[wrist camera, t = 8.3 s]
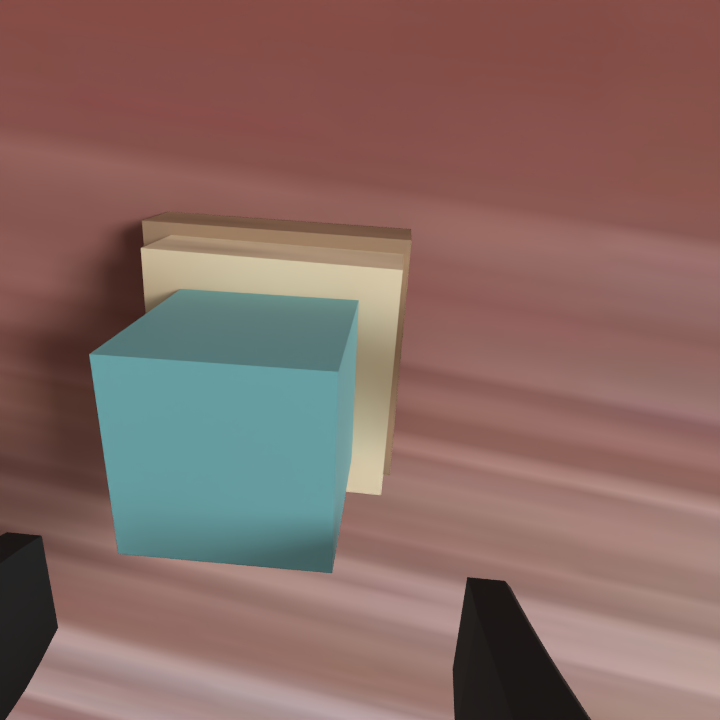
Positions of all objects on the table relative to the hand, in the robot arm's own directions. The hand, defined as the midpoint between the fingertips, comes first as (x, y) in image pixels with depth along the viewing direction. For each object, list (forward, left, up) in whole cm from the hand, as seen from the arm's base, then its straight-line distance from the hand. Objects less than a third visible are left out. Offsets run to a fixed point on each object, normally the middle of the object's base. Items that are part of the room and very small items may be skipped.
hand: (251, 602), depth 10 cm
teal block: (+1, +1, -6) cm, 7 cm away
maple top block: (+1, +1, -8) cm, 9 cm away
